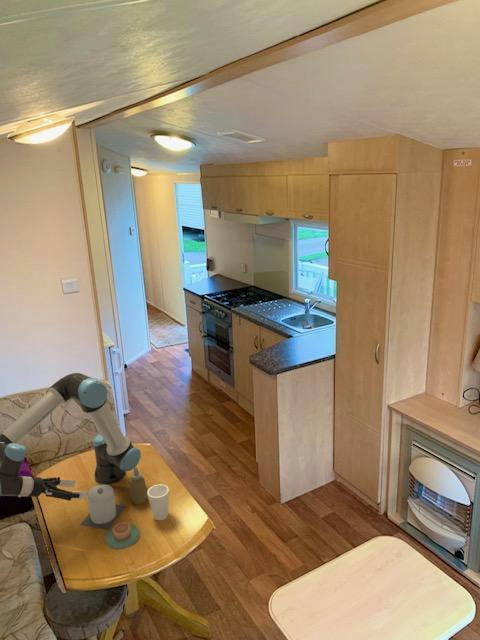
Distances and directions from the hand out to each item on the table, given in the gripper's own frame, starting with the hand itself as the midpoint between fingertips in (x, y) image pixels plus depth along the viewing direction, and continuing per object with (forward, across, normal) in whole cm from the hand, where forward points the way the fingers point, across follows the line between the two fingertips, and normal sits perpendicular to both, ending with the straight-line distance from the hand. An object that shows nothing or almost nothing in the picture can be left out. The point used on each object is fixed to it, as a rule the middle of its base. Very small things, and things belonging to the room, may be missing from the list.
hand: (80, 489), depth 210 cm
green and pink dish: (+17, +16, -13) cm, 27 cm away
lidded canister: (+16, -2, -11) cm, 19 cm away
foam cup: (+34, +15, -5) cm, 37 cm away
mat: (+16, -2, -12) cm, 20 cm away
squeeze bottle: (+31, 0, -4) cm, 31 cm away
